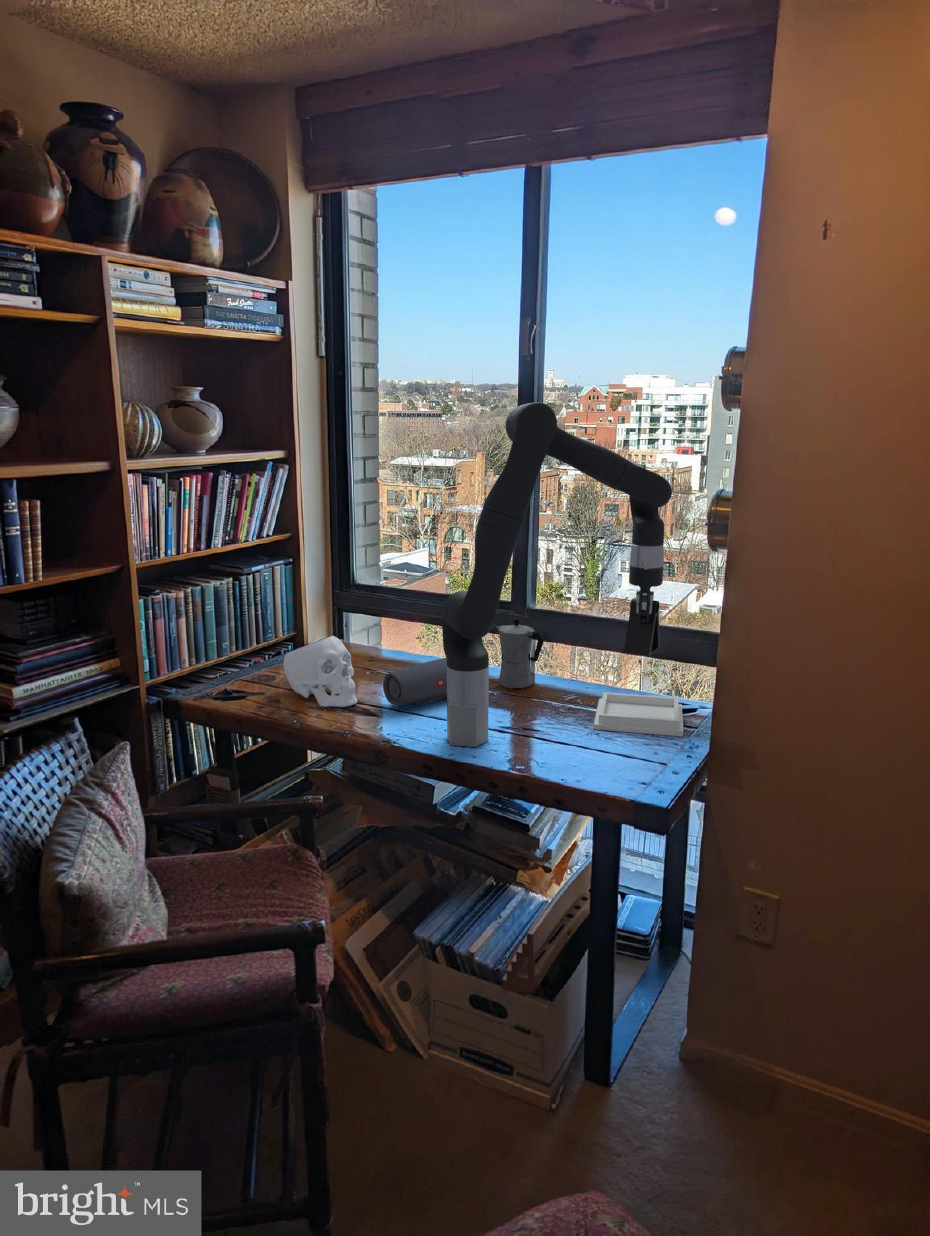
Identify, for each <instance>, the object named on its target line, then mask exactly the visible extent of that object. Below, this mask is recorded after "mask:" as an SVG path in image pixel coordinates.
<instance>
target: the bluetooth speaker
mask: <svg viewBox="0 0 930 1236" xmlns="http://www.w3.org/2000/svg"><path fill="white" fill-rule="evenodd" d="M382 688H383V694H384V697H385V699H386V700H387V702H388V703H389V704H390V705H392V706H395V707H396V706H405V705H409V704H412V705H413V706H420V705H421V704H422V705H426V704H429V703H428V702H430V703H432V702H431V701H434V702H437V701H442V700H443V698H444V699H447V660H446V657H444V658H439V659H438V658H437V659H433V660H428V661H425V662H421V663H417V664H412V665H410V666H405V667H403V668H399V669H396V670H392V671H390V672H388V673H386V674H385V677H384V678H383V683H382ZM425 703H426V704H425Z"/></svg>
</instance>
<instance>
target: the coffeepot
mask: <svg viewBox="0 0 930 1236" xmlns="http://www.w3.org/2000/svg"><path fill="white" fill-rule="evenodd" d="M495 628H496V629H497V630H498V637H499V643H500V650H501V654H502V655H503V656H502V657H503V659H502V662H501V667H500V670H499V678H498V684H499V685H500V686H501V685H502V686H501V687H503V688H508V689H512V688H514V689H515V688H521V689H524V688H523V687H526V688H528V687H527V686H529V687H531V686H530V684H531V685H533V676H532V668H531V662H530V661H532V662H537V661H538V660H539V657H540V654H541V650H542V648H543V646H544V642H545V638H544V636H543V635H542V633H541V632H540V631H539V630H535V628H532V627H530V626H528V625H523V624H522V625H521V624H520V618H518V617H516V618H513V624H511V625H510V624H509V625H508V624H507V625H498V626H496V627H495ZM533 639H536V640H537V642H536V647H535V650H534V653H533V657H529V655H530V653H531V649H532V643H533ZM514 689H513V690H514Z"/></svg>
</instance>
